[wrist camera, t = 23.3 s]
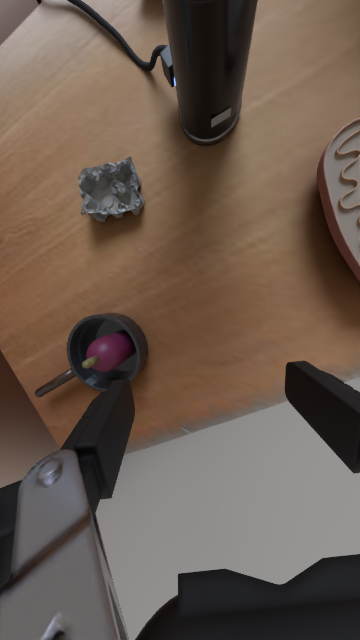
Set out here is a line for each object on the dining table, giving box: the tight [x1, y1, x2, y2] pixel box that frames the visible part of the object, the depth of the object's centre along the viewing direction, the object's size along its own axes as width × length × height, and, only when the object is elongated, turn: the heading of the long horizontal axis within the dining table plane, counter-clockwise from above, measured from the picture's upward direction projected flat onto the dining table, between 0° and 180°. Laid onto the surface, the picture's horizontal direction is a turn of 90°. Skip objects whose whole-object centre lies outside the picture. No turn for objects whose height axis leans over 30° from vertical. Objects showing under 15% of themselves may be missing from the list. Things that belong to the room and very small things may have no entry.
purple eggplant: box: [82, 331, 134, 372], centre depth 30 cm, size 6×6×11 cm
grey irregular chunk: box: [79, 157, 144, 222], centre depth 30 cm, size 11×8×4 cm
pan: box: [67, 313, 148, 392], centre depth 34 cm, size 14×14×4 cm
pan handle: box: [35, 368, 76, 397], centre depth 35 cm, size 12×2×2 cm, turn 121°
